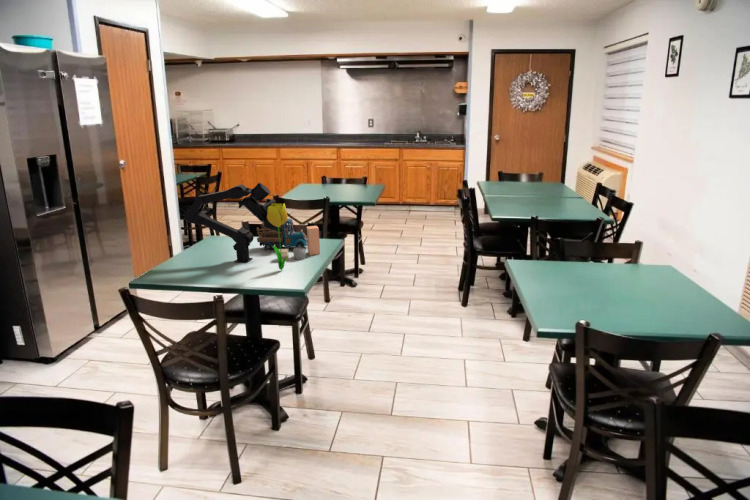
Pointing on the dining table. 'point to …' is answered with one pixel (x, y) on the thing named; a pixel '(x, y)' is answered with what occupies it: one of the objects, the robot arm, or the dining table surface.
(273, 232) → the toy truck
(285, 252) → the beech cube
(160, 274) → the dining table surface
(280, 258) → the flower
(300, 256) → the grey domed cylinder
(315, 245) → the peach block
